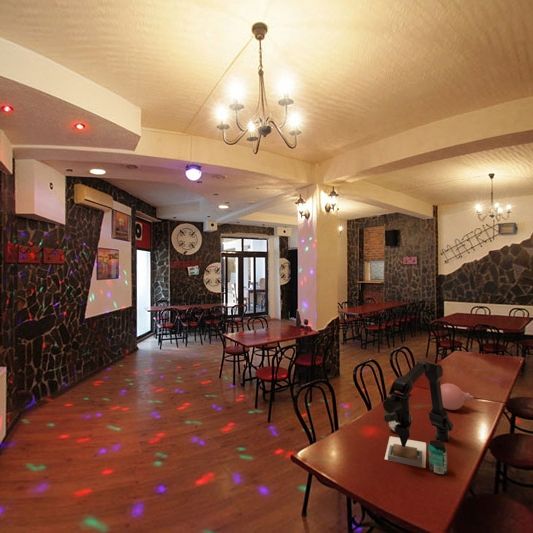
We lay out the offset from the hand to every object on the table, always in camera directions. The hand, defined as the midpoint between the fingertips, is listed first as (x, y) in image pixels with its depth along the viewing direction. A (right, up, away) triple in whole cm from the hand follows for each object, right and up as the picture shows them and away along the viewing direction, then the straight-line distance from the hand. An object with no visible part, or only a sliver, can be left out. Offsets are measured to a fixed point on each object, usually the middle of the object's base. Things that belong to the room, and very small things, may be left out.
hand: (404, 441), depth 151 cm
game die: (+6, -9, +25) cm, 27 cm away
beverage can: (+10, -8, -10) cm, 16 cm away
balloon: (+52, -7, +50) cm, 73 cm away
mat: (+3, -8, +6) cm, 10 cm away
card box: (0, -7, 0) cm, 7 cm away
